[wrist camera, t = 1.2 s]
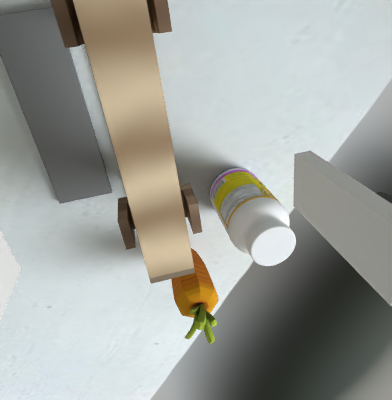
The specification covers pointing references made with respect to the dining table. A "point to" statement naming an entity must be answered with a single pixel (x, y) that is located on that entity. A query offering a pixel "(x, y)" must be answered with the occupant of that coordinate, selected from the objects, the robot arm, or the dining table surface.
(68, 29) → the rack
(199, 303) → the carrot
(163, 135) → the rail
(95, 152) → the mat
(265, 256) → the supplement bottle
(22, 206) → the dining table surface
